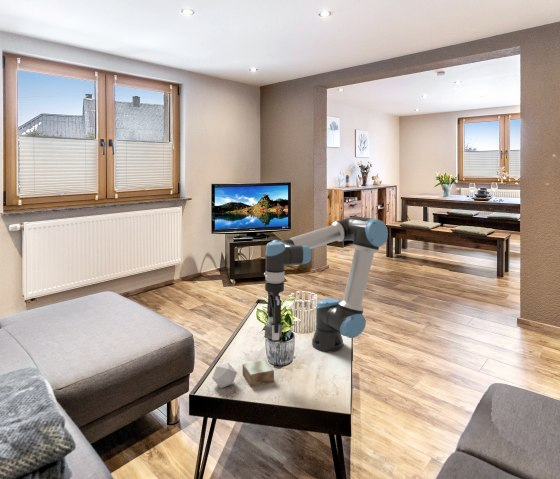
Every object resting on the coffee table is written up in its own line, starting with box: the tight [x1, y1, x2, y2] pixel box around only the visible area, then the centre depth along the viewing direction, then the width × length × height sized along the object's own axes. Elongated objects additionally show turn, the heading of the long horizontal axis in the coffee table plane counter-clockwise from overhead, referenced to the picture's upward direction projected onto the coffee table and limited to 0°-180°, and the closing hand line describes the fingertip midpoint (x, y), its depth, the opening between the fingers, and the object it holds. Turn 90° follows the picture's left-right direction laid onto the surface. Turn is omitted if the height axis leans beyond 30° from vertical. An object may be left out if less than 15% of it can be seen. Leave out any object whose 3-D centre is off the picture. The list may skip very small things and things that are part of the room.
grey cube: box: [264, 322, 283, 340], centre depth 161 cm, size 5×5×5 cm
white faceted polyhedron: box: [211, 362, 238, 389], centre depth 157 cm, size 8×9×10 cm
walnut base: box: [242, 360, 275, 388], centre depth 162 cm, size 10×10×5 cm
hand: (273, 335), depth 162 cm, fingers closed on grey cube, 7 cm apart
